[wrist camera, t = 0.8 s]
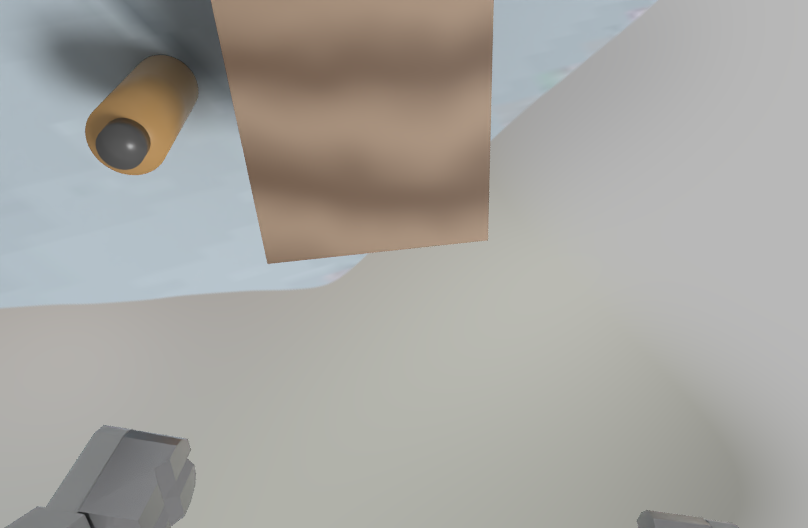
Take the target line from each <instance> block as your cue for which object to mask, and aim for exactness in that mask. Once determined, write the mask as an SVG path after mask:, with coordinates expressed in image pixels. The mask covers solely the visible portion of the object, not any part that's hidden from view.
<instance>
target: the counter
mask: <svg viewBox="0 0 808 528" xmlns="http://www.w3.org/2000/svg"><path fill="white" fill-rule="evenodd" d="M211 4H212V8H213V13H214V18H215V22H216V27H217V32H218V36H219V41H220V45H221V50H222V55H223V59H224V64H225V69H226V73H227V78H228V83H229V87H230V92H231V96H232V101H233V106H234V110H235V115H236V120H237V124H238V129H239V133H240V138H241V143H242V147H243V152H244V157H245V161H246V166H247V171H248V175H249V180H250V184H251V189H252V194H253V198H254V203H255V208H256V212H257V217H258V222H259V226H260V231H261V235H262V240H263V245H264V249H265V254H266V259H267V263H268V264H271V263H280V262H289V261H299V260H308V259H317V258H327V257H336V256H345V255H355V254H364V253H373V252H382V251H392V250H401V249H411V248H420V247H429V246H439V245H448V244H458V243H467V242H476V241H485V240H488V214H489V213H488V212H489V172H490V170H489V169H490V130H491V88H492V46H493V4H494V0H211Z"/></svg>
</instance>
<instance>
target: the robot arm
mask: <svg viewBox="0 0 808 528" xmlns="http://www.w3.org/2000/svg"><path fill="white" fill-rule="evenodd" d="M190 451H191V448H190V445H189V442H188V439H186V438H180V437H174V436H167V435H161V434H155V433H149V432H143V431H136V430H133V429H127V428H120V427H113V426H107V425H103V426H102V427H101V428H100V429H99V430H98V431H96V432H95V433H94V434H93V436H92V437H91V439H90V441H89V442H88V444H87V445H86V447H85V448H84V450H83V451H82V453H81V454H80V456H79V457H78V459H77V460H76V462H75V464H74V465H73V466H72V468H71V470H70V471H69V473H68V474H67V476H66V477H65V479H64V480H63V482H62V483H61V485H60V487H59V488H58V489H57V491H56V492H55V494H54V495H53V497H52V498H51V500H50V502H49V503H48V505H47V506H46V507H38V506H37V507H36V508H34V509H33V510H31V511H30V512H28V513H27V514H25V515H24V516H22V517H20V518H19V519H17V520H16V521H14V522H13V523H11V524H10V525H8V526H7V527H5V528H171V526H172V525H173V524H175V523H176V522H177V521H179V520H180V519H181V518H183V517H184V516H185V514H186V512H187V509H188V507H189V505H190V502H191V499H192V495H193V491H194V487H195V480H196V472H195V466H194V464H193V463H192V462H191V461H189V460H188V459H187V457H188V455H189V453H190ZM637 523H638V528H739V527H738V526H737V525H736V524H733V523H730V522H723V521H716V520H709V519H703V518H700V517H693V516H686V515H678V514H672V513H663V512H657V511H650V510H646V511H644V512H642V513H641V514H640V516H639V517H638V519H637Z"/></svg>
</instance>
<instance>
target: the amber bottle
mask: <svg viewBox="0 0 808 528" xmlns="http://www.w3.org/2000/svg"><path fill="white" fill-rule="evenodd" d="M197 98H198V84H197V81H196V78H195V76H194V75H193V73H192V72H191V70H190V69H189V68H188V67H187V66H186V65H185V64H184V63H182V62H181V61H179V60H178V59H176V58H173V57H170V56H166V55H154V56H150V57H148V58H146V59H144V60H143V61H142V62H140V63H139V64H138V66H137V67H136V68H135V69H134V70H133V71H132V72H131V73H130V74H129V75H128V76H127V77H126V78H125V79H124V80H123V81H122V82H121V83H120V84H119V85H118V86H117V87H116V88H115V89H114V90H113V91H112V92H111V93H110V94H109V95H108V96H107V97H106V98H105V99H104V101H103V102H102V103H101V104H100V105H99V106H98V107H97V108H96V109H95V110H94V111H93V112H92V113H91V114H90V116H89V118H88V120H87V123H86V128H85V134H86V140H87V143H88V146H89V148H90V149H91V151H92V153H93V154H94V155H95V157H96V158H97V159H98V160H99V161H100V162H101V163H103V164H104V165H105V166H107V167H108V168H110V169H112V170H114V171H116V172H119V173H123V174H128V175H141V174H146V173H148V172H151V171H153V170H155V169H156V168H157V167H159V165H160V164H161V163H162V162H163V160H164V159H165V157H166V155H167V153H168V152H169V150H170V148H171V146H172V145H173V143H174V141H175V139H176V137H177V136H178V134H179V132H180V130H181V128H182V127H183V125H184V123H185V121H186V119H187V118H188V116H189V114H190V112H191V111H192V109H193V107H194V105H195V103H196V101H197Z"/></svg>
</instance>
